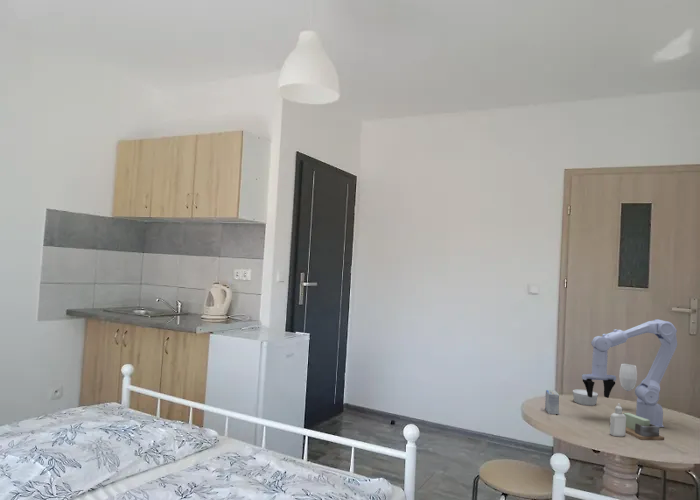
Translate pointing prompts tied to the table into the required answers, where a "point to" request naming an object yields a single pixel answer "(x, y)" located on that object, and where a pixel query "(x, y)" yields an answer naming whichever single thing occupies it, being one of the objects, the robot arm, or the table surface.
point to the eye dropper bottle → (618, 422)
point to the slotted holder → (645, 432)
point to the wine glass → (628, 376)
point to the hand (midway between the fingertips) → (598, 397)
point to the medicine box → (552, 402)
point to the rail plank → (635, 421)
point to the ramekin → (584, 397)
